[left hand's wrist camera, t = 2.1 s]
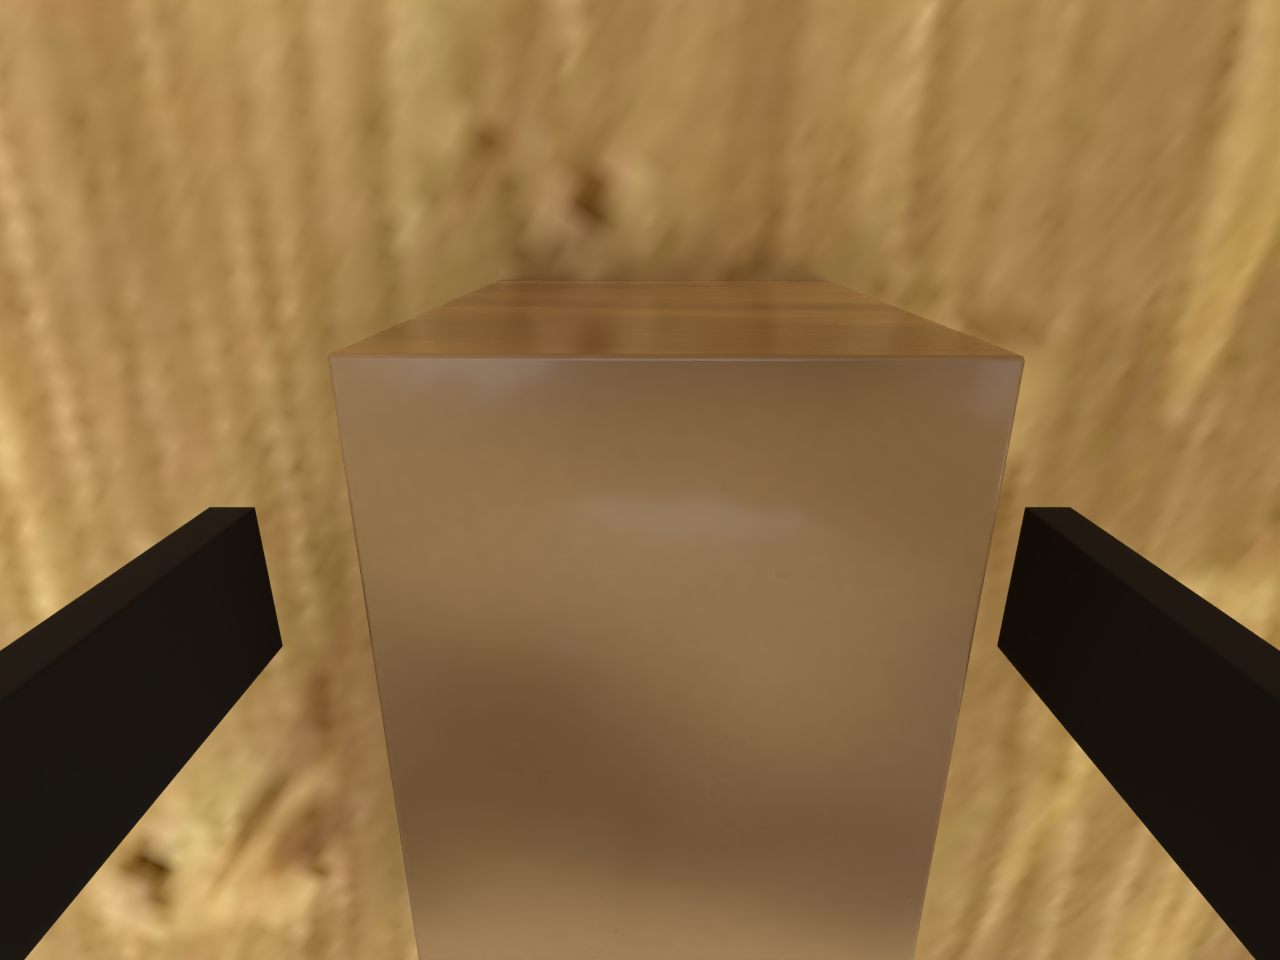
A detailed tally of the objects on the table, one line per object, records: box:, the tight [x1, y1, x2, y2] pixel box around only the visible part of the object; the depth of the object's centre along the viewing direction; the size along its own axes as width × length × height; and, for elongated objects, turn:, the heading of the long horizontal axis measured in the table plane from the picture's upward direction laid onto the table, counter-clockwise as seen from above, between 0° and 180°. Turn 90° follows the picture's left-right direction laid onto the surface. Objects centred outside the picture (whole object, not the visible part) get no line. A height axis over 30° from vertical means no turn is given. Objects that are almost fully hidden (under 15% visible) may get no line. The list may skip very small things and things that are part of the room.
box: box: [328, 280, 1024, 960], centre depth 18 cm, size 24×8×10 cm, turn 0°
